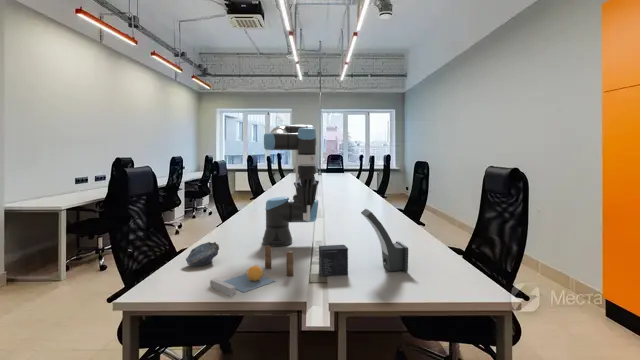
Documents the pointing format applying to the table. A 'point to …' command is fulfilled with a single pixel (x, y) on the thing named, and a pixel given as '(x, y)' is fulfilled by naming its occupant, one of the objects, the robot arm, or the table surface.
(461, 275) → the table surface
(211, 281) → the wall
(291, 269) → the post
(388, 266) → the grey curved piece
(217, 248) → the rock
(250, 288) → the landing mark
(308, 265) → the table surface
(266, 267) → the post
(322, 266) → the box
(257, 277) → the ball
